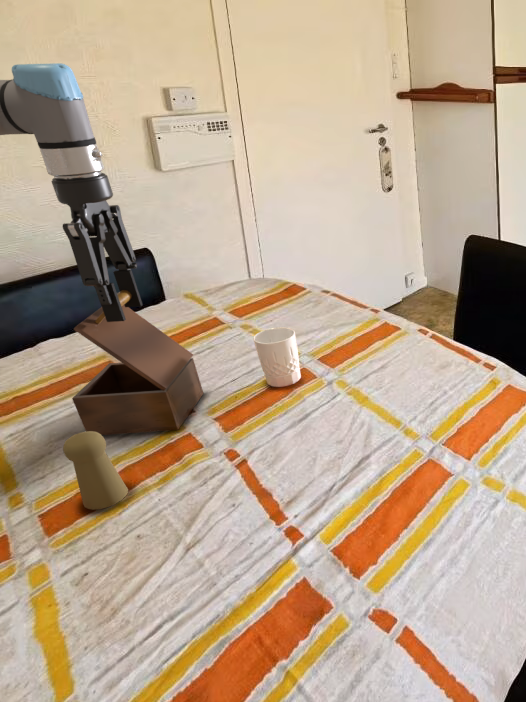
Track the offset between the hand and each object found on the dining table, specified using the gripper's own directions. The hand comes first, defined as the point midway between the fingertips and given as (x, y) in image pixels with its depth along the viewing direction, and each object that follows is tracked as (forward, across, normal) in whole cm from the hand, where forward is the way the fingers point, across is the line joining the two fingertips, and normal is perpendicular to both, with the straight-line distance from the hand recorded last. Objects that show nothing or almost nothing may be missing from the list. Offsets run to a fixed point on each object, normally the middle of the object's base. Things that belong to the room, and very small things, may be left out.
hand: (125, 312), depth 108 cm
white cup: (+20, +10, -21) cm, 31 cm away
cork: (+20, -25, -2) cm, 33 cm away
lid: (+6, 0, 0) cm, 6 cm away
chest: (+20, 0, +2) cm, 20 cm away
